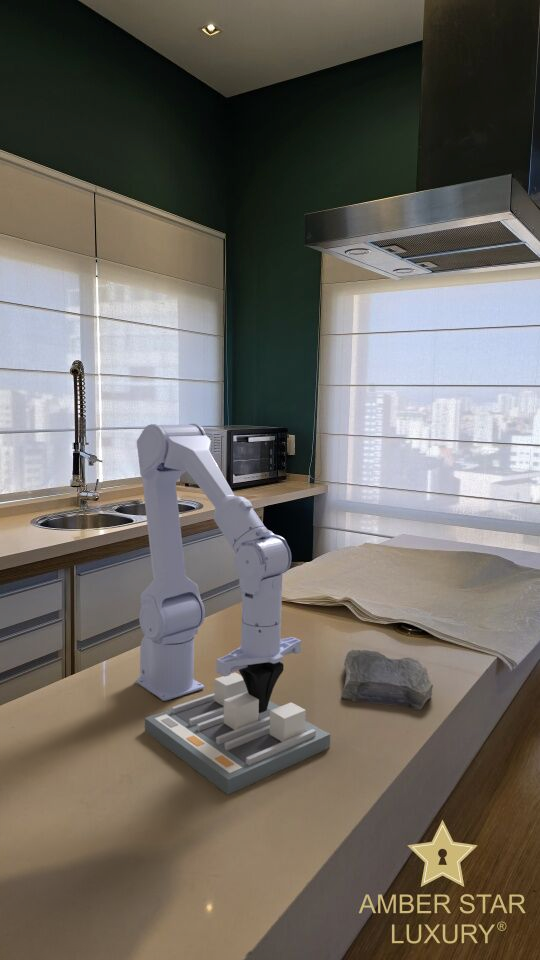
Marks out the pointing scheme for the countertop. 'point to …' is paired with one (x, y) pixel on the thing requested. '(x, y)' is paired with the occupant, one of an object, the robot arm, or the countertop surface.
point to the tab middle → (241, 710)
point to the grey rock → (385, 680)
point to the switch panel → (230, 743)
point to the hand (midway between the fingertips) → (259, 709)
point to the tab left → (228, 687)
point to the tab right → (287, 721)
